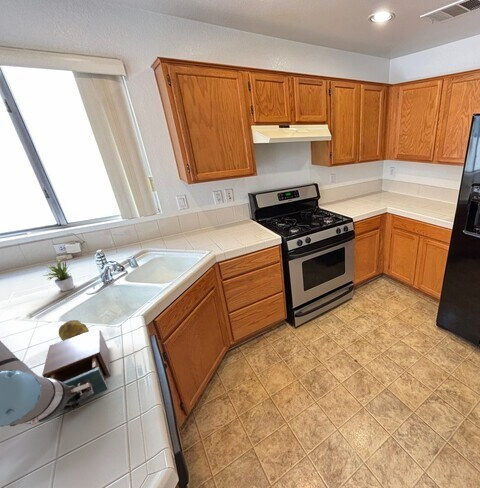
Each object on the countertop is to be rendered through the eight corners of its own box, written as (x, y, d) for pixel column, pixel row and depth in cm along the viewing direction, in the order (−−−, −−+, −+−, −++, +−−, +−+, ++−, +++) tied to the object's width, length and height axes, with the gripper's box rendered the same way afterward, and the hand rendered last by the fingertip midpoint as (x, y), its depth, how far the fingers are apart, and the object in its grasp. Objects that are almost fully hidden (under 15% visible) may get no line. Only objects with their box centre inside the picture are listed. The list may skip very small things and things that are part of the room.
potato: (64, 357, 92) (55, 338, 89) (63, 340, 101) (55, 323, 98) (94, 344, 98) (87, 327, 95) (91, 329, 106) (83, 313, 103)
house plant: (49, 288, 142) (36, 261, 137) (82, 279, 151) (71, 253, 145) (47, 298, 132) (33, 269, 127) (83, 287, 141) (71, 260, 135)
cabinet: (110, 375, 83) (99, 352, 80) (56, 399, 76) (42, 374, 73) (108, 349, 95) (99, 327, 91) (61, 368, 87) (49, 345, 84)
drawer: (108, 399, 74) (98, 378, 71) (53, 426, 68) (39, 404, 65) (106, 361, 88) (98, 343, 85) (60, 381, 81) (49, 361, 79)
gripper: (-11, 444, 46) (44, 434, 64) (85, 399, 53) (110, 401, 72) (-17, 401, 48) (38, 404, 66) (77, 364, 55) (103, 375, 74)
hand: (75, 402), depth 69 cm, fingers closed
